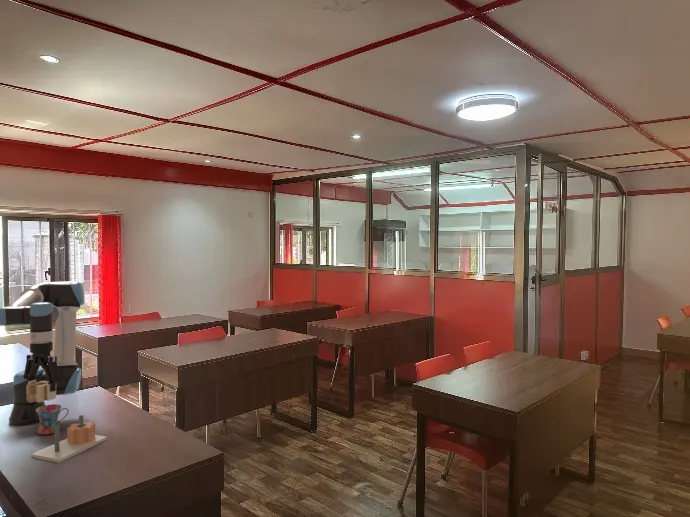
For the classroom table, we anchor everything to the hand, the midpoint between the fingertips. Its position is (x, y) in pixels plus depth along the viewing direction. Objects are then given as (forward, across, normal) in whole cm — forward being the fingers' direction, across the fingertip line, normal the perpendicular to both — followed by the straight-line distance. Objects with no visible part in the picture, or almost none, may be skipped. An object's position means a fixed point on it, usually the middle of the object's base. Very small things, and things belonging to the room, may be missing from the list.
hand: (41, 398), depth 182 cm
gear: (0, 0, 0) cm, 0 cm away
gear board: (+21, +9, +5) cm, 23 cm away
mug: (+20, -13, +15) cm, 28 cm away
